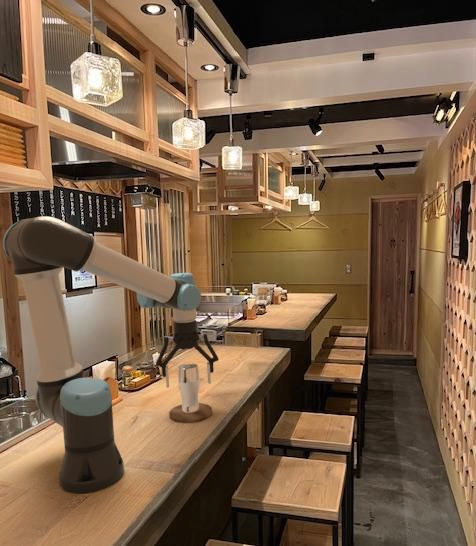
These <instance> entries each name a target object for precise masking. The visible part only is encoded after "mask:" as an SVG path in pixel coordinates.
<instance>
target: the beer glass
mask: <svg viewBox="0 0 476 546" xmlns="http://www.w3.org/2000/svg"><path fill="white" fill-rule="evenodd" d="M177 381H178V382H177V383H178V388H179V389H178V390H179V392H180V393H179V394H180V397H181V405H182V409H181V411H182V413H184V414H194V413H197V412H199V411H200V407H199V403H200V402H199V391H200V390H199V389H200V371H199V365H198V364H197V363H191V362H190V363H183V364H182V363H181V364H180V365H178V366H177Z"/></svg>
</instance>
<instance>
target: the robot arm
mask: <svg viewBox="0 0 476 546" xmlns="http://www.w3.org/2000/svg"><path fill="white" fill-rule="evenodd" d="M2 246H3V251H4V252H5V255H6V256H7V257H8V259H9V260H10V261H11V264H12V269H13V273H14V276H15V278H17V279H19V280H21V282H22V283H23V285H22V286H23V289H24V295H25V299H26V303H27V304H26V305H27V308H28V313H29V317H30V322H31V327H32V328H31V329H32V333H33V337H34V343H35V346H36V351H37V356H38V361H39V365H40V366H39V367H40V371H39V373H38V375H37V376H36V377H35V378H36V384H37V388H36V390H35V403H36V406H37V407H38V409H39V411H40V412H41V413H42V415H44V416H45V417H46V418H47V419H50V420H51V421H53V422H54V423H56V424H57V425H59V426H60V427H62V432H63V442H64V453H63V458H62V461H61V462H62V463H61V466H60V470H59V472H58V474H59V475H58V478H59V486H60V488H61V487H62V488H63V489H64V490H63V489H62V488H61V489H62V490H63V491H65V492H69V493H72V494H86V493H92V492H96V491H100V490H102V489H105V488H108V487H110V486H111V485H113V484H114V483H116V482H118V480H120V479H121V478H122V476H124V475H123V474H124V473H125V467H124V460H123V458H122V454H121V453H120V451H119V448H118V446H117V444H116V442H115V430H114V428H115V427H114V416H113V396H112V392H111V386H110V384H109V383H108V382H107V381H106V380H104V379H101V378H98V377H94V378H92V377H91V376H90V377H86V376H85V373H84V368H83V365H81V364H80V363H79V362H76V358H75V357H76V356H75V351H74V347H73V342H72V336H71V333H70V331H71V330H70V326H69V321H68V317H67V312H66V306H65V302H64V296H63V292H62V285H61V281H60V273H62V270H63V269H65V268H66V269H69V270H71V271H73V272H80V271H85V272H87V273H90V274H92V275H94V276H97V277H99V278H101V279H104V280H106V281H108V282H111V283H113V284H116V285H119V286H120V287H123V288H125V289H128V290H130V291H132V292H135V293H136V298H137V303H138V304H139V306H140V308H143V309H153V308H162V309H163V308H165V309H172V319H173V321H174V322H173V336H168V335H166V336H164V343H163V346H162V347H161V350H160V352H159V355H158V357H157V359H156V361H155V366H157V367H161V375H162V377H163V378H165V382H166V383H165V384H166V388H170V381H169V380H170V379H169V378H170V376H169V366H168V364H169V362H170V361H172V359H173V357H174V356H175V355H176V353H177V352H178V351H179V349H180V350H182V351H183V350H186V349H187V350H192V349H193V348H194V349H195V350H196V351H198V353H200V354H201V356H203V358H205V359H206V361H207V362H206V367H207V383H208V384H212V380H211V379H212V378H211V374H212V373H214V371H215V370H214V363H215V362H218V361H219V357H218V355H217V353H216V352H215V350H214V348H213V346H212V344H211V343H210V341H209V339H208V338H209V337H208V334H207V333H206V332H203V333H202V334H198V321H197V320H196V319H197V308H198V307H199V305H200V303H201V300H202V294H201V290H200V289H199V288H198V286H196V284H195V276H194V274H193V273H192V272H179V273H172V274H171V275H170V276H168V275H166V274H164V273H163V272H160V271H159V270H156V269H154V268H151V267H150V266H147V265H146V264H143V263H142V262H139V261H137V260H135V259H133V258H131V257H129V256H126V255H125V254H122V253H120V252H118V251H116V250H114V249H111V248H110V247H107V246H105V245H103V244H102V243H101V244H100V243H99V242H97V241H96V239H95V237H94V236H93V235H92V234H90V233H88V232H85V231H84V230H82V229H79V228H78V227H76V226H74V225H72V224H70V223H67V222H66V221H64V220H62V219H59V218H56V217H53V216H47V215H44V216H43V215H42V216H37V217H35V216H34V217H32V218H25V219H20V220H19V221H17V222H15V223H13V224H12V225H11V226H10V227H8V228H7V230H6V232H5V233H4V236H3V239H2ZM199 340H201V341H203V342H204V344H205V345H206V347H207V349H208V351H209V352H210V354H208V352H206V351H205V349H203V348H202V347H201V346H200V345H199V344H198V341H199ZM172 341H173V342H174V344H175V345H174V346H173V348H172V349H171V350H170V352H169V353H168V355H167V356H166V357H165V359H164V360H163V358H164V356H165V353H166V351H167V349H168V346H169V344H171V343H172ZM210 355H211V356H212V357H211V356H210ZM73 492H74V493H73Z"/></svg>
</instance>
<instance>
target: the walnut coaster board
mask: <svg viewBox="0 0 476 546" xmlns="http://www.w3.org/2000/svg"><path fill="white" fill-rule="evenodd" d="M198 403H199V407H200V411H199V412H197V413H194V414H184V413H182V411H181V409H182V404H178V405H177V406H174V407H173V408H171V409H170V410H169V412H168V415H169V419H170V420H171V421H173V422H175V423H180V424H181V423H182V424H188V423H189V424H190V423H197V422H201V421H204V420H206V419H208V418H210V417H211V416H212V415H213V410H212V409H213V408H212V407H211V405H209V404H207V403H202V402H198Z"/></svg>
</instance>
